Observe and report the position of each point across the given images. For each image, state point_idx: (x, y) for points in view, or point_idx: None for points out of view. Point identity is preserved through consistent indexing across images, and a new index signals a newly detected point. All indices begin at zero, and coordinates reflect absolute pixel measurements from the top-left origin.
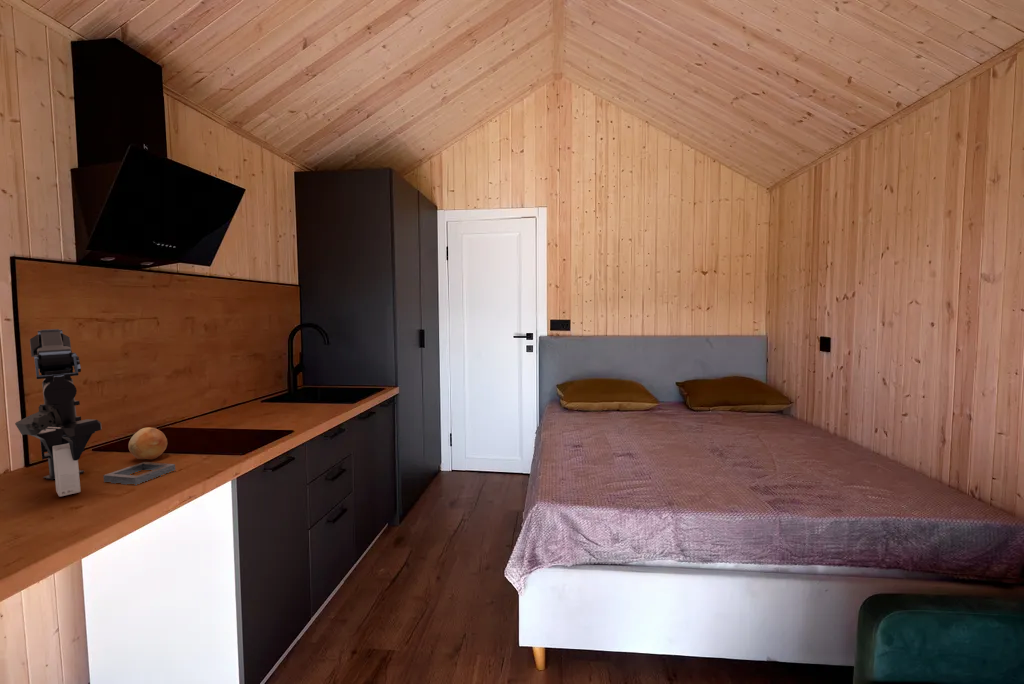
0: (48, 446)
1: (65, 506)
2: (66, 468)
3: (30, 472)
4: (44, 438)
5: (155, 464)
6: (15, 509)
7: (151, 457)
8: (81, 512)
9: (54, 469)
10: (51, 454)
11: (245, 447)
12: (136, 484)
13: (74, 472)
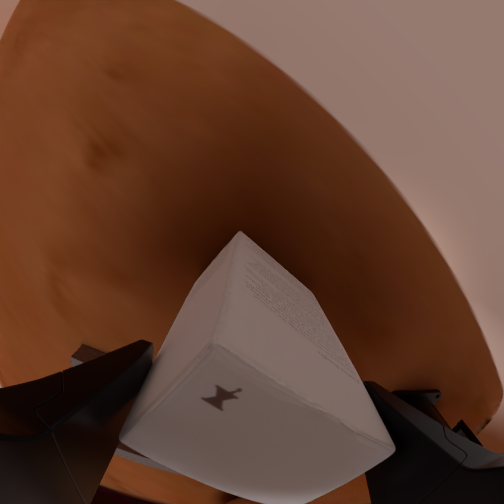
0: (419, 435)
1: (147, 158)
2: (197, 297)
3: (476, 407)
4: (475, 476)
5: (138, 456)
6: (329, 136)
7: (233, 499)
8: (60, 121)
9: (328, 331)
10: (379, 396)
11: (103, 501)
12: (81, 346)
13: (183, 309)
